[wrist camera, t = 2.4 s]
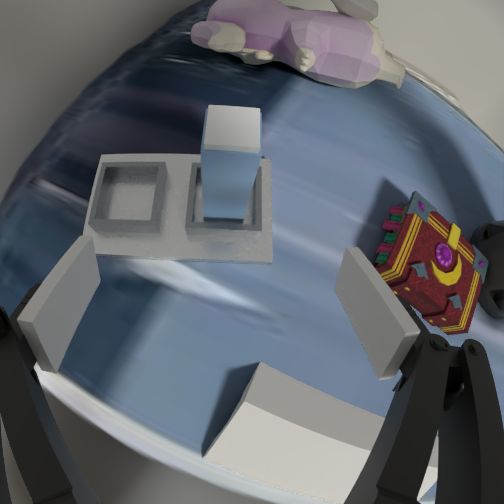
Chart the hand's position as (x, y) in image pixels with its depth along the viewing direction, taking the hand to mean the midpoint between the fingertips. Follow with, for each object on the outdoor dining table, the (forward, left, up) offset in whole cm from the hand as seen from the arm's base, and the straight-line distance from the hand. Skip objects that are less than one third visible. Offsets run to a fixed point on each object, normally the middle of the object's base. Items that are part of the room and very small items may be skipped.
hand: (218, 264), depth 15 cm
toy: (-10, -36, -15) cm, 40 cm away
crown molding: (-14, +18, -16) cm, 28 cm away
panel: (+4, -10, -15) cm, 18 cm away
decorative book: (-25, -4, -16) cm, 30 cm away
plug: (-1, -10, -14) cm, 17 cm away
